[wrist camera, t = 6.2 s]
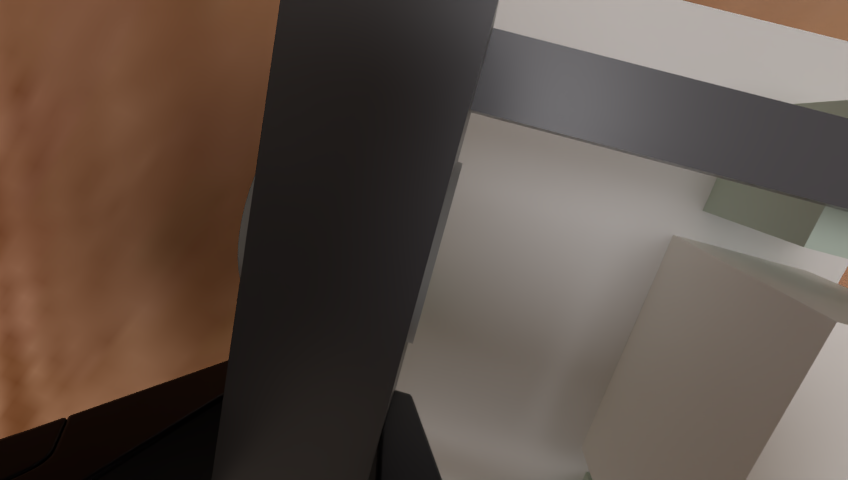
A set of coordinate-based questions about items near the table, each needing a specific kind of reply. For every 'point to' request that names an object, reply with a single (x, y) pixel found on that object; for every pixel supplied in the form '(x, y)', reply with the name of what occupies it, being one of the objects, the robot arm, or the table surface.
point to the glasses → (429, 198)
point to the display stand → (638, 282)
